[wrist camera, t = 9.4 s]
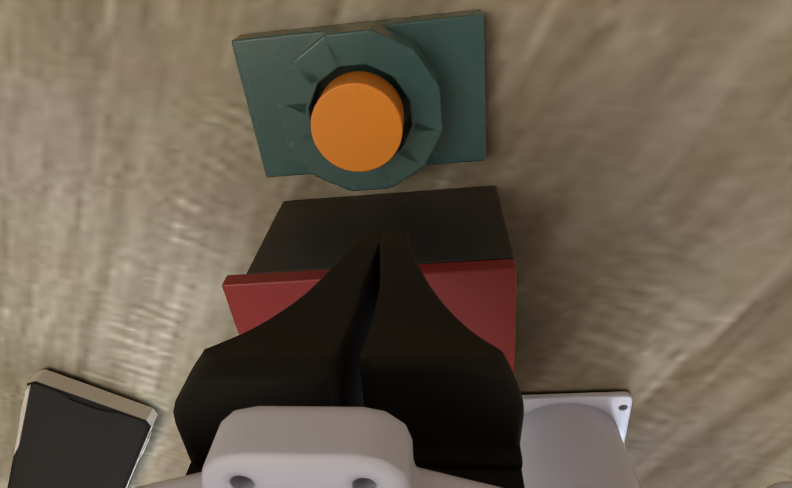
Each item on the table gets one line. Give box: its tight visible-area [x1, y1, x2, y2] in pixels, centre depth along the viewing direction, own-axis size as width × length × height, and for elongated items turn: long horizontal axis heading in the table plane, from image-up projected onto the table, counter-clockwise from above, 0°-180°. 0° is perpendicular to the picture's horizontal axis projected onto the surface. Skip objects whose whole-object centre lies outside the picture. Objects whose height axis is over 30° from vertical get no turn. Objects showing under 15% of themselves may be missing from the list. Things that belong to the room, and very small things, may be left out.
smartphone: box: [8, 369, 158, 488], centre depth 37 cm, size 8×1×15 cm
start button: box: [311, 71, 404, 172], centre depth 20 cm, size 3×3×2 cm
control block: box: [232, 9, 487, 191], centre depth 21 cm, size 6×10×3 cm, turn 96°
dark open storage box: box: [247, 186, 514, 274], centre depth 26 cm, size 10×12×6 cm
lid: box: [222, 259, 517, 375], centre depth 23 cm, size 11×12×1 cm
